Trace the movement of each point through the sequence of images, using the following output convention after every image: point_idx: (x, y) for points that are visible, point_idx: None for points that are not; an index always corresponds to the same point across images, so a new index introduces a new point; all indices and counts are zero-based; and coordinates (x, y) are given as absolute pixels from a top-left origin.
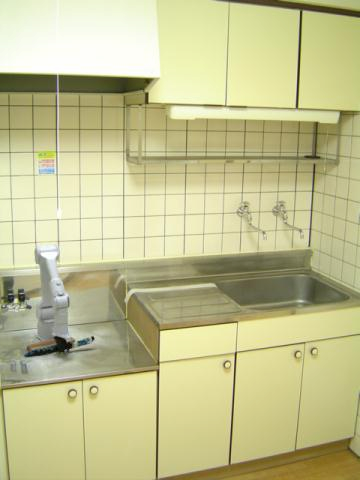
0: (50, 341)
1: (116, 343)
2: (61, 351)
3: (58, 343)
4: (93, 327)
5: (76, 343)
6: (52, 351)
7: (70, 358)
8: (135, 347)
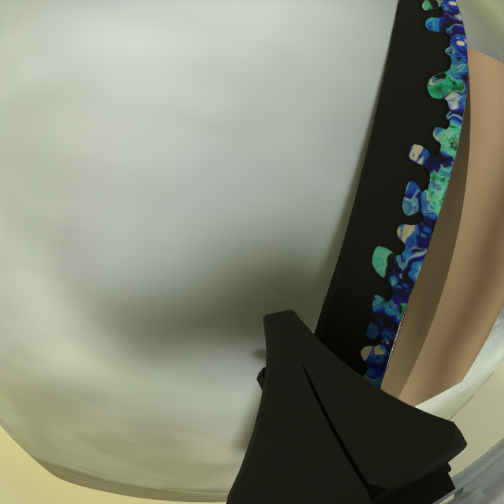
0: (494, 283)
1: None
2: (266, 340)
3: (276, 436)
4: None
5: None
6: (353, 248)
7: (151, 352)
8: (190, 497)
